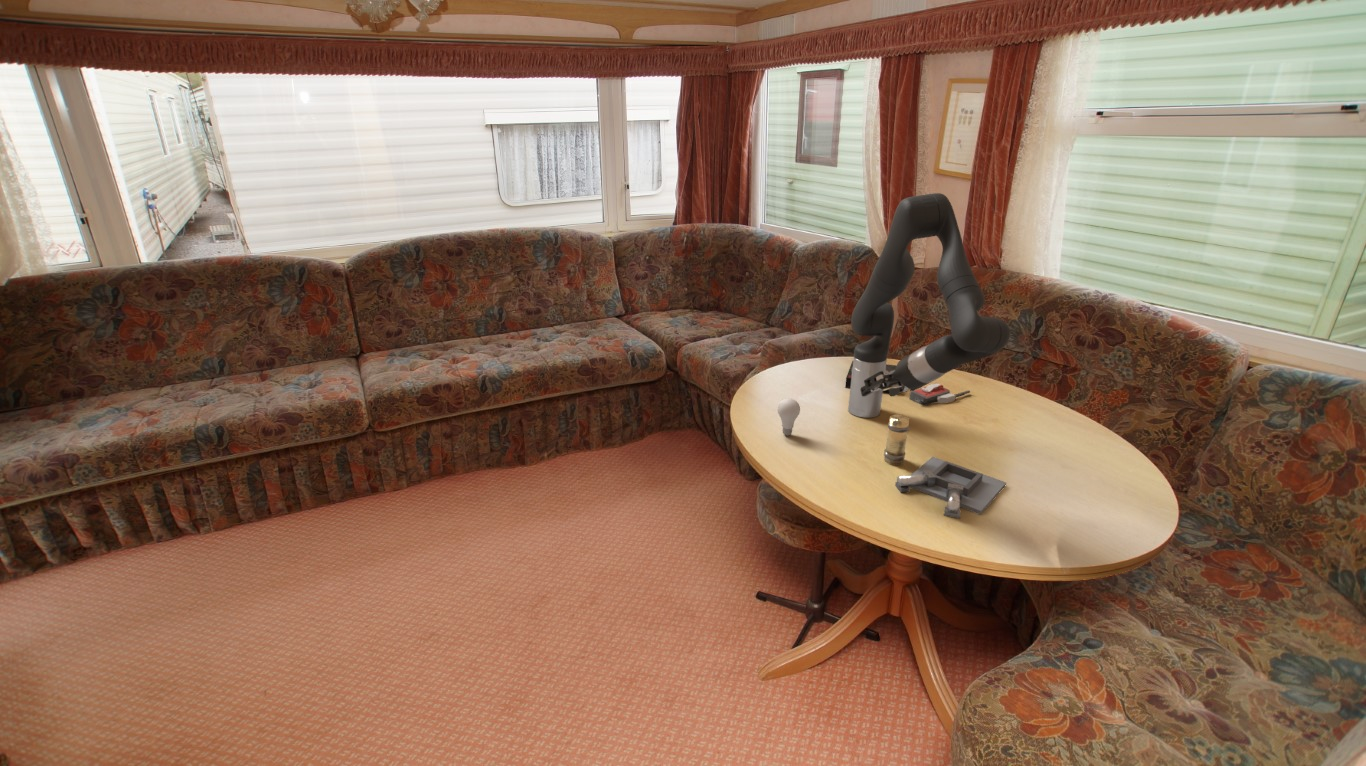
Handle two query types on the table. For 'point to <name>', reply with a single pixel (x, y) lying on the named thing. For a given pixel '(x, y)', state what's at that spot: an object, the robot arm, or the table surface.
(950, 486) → the shaft
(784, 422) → the lightbulb
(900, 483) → the shaft
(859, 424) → the table surface
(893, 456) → the gold cylindrical piece
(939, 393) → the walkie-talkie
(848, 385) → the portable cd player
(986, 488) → the stand
